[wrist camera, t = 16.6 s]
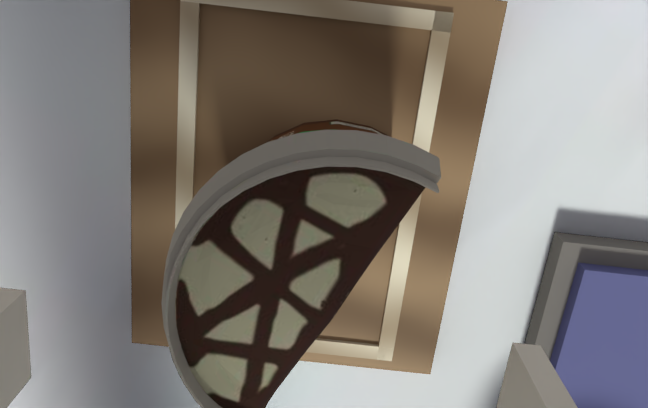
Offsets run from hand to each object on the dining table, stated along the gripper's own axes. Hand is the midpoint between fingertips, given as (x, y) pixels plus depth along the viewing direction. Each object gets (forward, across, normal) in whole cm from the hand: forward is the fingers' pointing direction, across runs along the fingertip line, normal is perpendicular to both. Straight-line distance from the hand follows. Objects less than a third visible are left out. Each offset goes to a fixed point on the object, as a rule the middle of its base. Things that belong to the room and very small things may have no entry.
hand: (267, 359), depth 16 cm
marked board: (+14, 0, -1) cm, 14 cm away
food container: (+13, +1, -1) cm, 13 cm away
